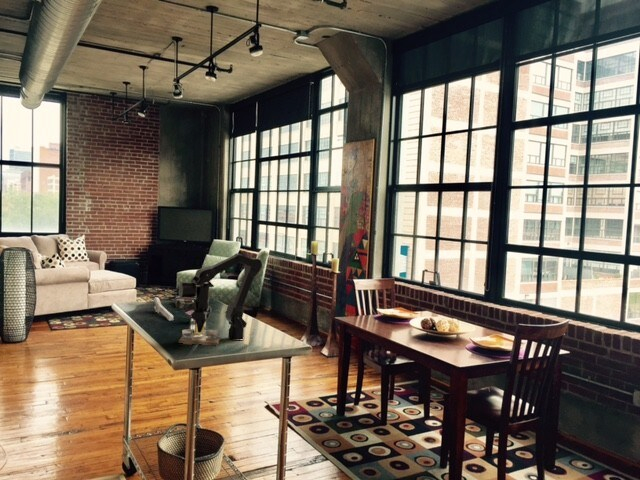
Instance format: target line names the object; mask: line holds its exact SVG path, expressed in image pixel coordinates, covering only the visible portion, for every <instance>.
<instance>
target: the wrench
mask: <svg viewBox="0 0 640 480" xmlns="http://www.w3.org/2000/svg"><path fill="white" fill-rule="evenodd" d="M153 302H155V303H154V304H155V306H154V307H153V308H154V310H155V313H156V312H157V314H158V313H161V314H162V315H163V317H165V318H166V319H167V320H168V321H170V322H172V321H174V315H173V314H172V313H171V312H170V311H168V310H167V309H166V307H164V305H163V304H162V302H161V300H160V298H159V297H156V296H155V297H154V298H153Z"/></svg>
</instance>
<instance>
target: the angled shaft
mask: <svg viewBox="0 0 640 480" xmlns="http://www.w3.org/2000/svg"><path fill="white" fill-rule="evenodd" d="M181 335H182V336H183V335H184V339H186V340H188V339H190V335H195V329H194V328H191V329H182V330H181Z"/></svg>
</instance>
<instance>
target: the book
mask: <svg viewBox="0 0 640 480" xmlns="http://www.w3.org/2000/svg"><path fill="white" fill-rule="evenodd" d="M193 299H196V295H195V296H194V297H183V298H180V296H179V295H178V296H177V295H176V296H175V298H174V304H175V307H176V308H179V309H182V308H183V307H182V306H183V305H184V304H186V303H191V302H192V300H193Z"/></svg>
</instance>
